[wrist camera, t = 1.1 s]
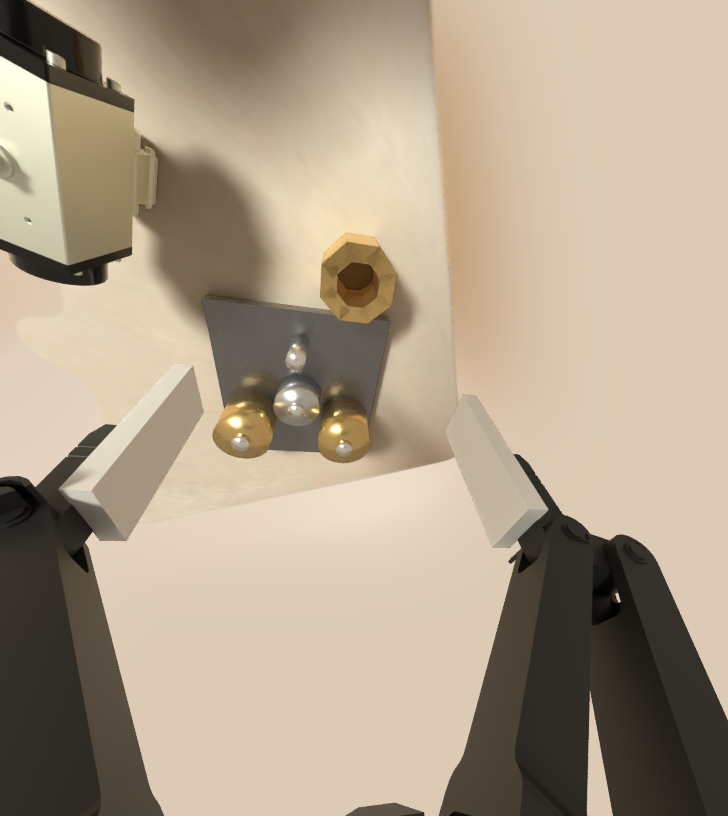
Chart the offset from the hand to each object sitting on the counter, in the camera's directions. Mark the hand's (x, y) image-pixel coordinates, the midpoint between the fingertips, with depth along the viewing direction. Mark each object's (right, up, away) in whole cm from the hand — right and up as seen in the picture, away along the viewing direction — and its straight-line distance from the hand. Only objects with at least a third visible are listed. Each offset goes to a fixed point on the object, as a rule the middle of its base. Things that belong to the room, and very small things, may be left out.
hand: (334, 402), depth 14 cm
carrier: (-6, +2, +20) cm, 21 cm away
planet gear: (+1, +13, +12) cm, 18 cm away
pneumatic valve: (-16, +18, +7) cm, 25 cm away
